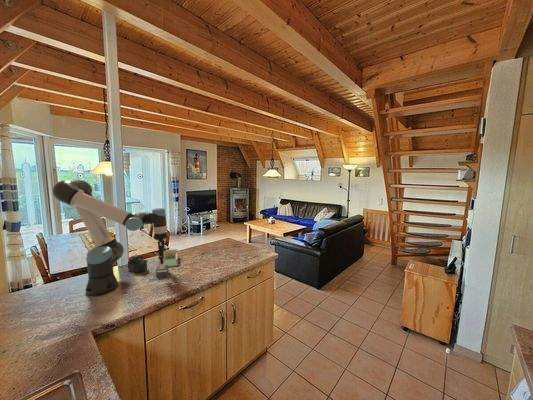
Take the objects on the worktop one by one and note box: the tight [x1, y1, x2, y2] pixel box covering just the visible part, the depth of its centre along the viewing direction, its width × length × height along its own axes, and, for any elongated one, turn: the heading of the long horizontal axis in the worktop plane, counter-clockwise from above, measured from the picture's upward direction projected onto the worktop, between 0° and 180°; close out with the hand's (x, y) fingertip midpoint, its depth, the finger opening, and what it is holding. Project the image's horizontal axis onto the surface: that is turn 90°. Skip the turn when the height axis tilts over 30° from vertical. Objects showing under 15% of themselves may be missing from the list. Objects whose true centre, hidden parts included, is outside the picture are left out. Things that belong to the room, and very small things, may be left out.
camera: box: [127, 254, 148, 273], centre depth 159 cm, size 13×10×10 cm
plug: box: [155, 265, 170, 278], centre depth 153 cm, size 7×6×5 cm
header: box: [157, 248, 179, 268], centre depth 173 cm, size 20×13×7 cm, turn 21°
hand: (162, 264), depth 152 cm, fingers open, 13 cm apart
